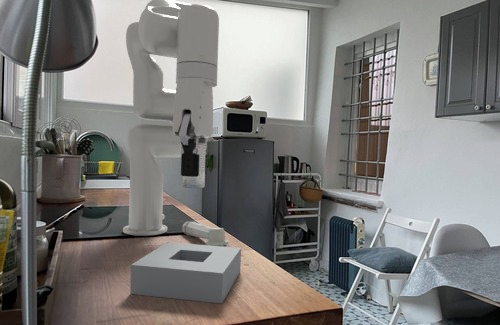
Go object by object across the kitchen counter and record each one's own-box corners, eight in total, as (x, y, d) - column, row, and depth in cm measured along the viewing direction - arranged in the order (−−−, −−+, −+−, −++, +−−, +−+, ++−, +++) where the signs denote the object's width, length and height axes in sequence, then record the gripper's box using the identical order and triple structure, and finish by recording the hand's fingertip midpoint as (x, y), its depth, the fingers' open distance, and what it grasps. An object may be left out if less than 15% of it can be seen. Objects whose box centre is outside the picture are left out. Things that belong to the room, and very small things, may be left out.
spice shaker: (186, 185, 71) (188, 138, 70) (206, 186, 70) (208, 139, 70) (179, 187, 67) (180, 137, 66) (200, 188, 66) (202, 138, 66)
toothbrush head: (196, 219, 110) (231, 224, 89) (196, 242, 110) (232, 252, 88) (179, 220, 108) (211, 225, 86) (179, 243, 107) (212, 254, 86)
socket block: (166, 265, 78) (167, 242, 78) (240, 272, 76) (241, 247, 76) (130, 293, 63) (131, 264, 62) (221, 303, 60) (222, 273, 60)
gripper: (191, 84, 77) (189, 172, 77) (159, 66, 60) (156, 177, 61) (226, 85, 75) (224, 174, 76) (203, 65, 59) (200, 179, 59)
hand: (194, 174), depth 68 cm, fingers closed on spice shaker, 4 cm apart
